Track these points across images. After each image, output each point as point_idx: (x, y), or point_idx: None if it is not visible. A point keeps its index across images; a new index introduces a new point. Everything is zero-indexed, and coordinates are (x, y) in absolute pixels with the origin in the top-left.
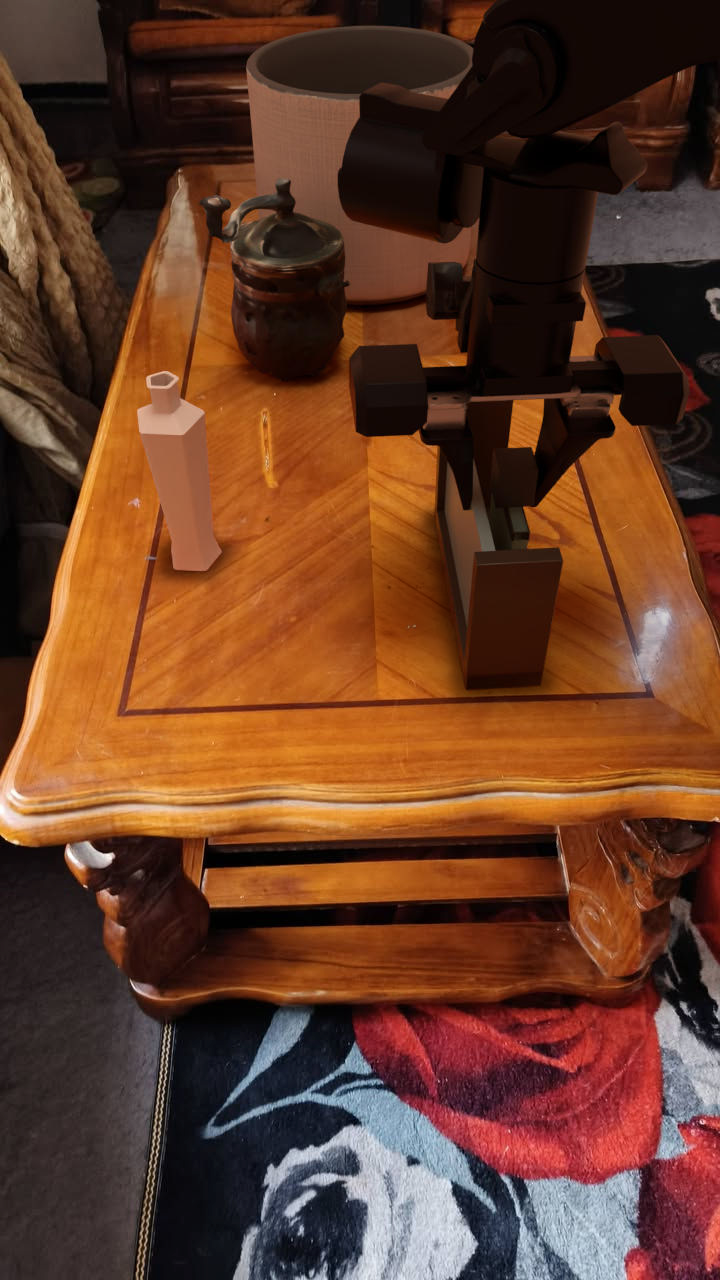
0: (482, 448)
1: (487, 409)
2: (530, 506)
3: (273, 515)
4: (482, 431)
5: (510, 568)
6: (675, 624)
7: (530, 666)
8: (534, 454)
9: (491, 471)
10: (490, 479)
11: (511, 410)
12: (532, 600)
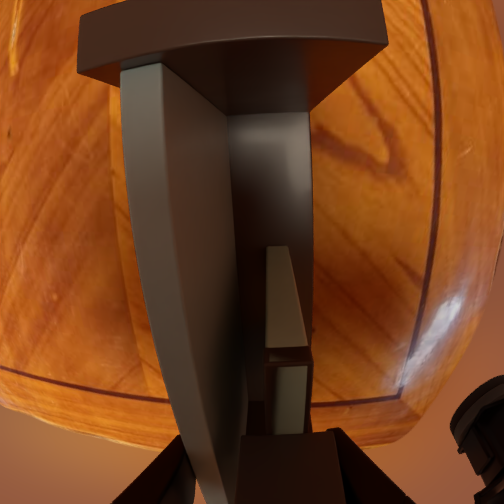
0: (266, 88)
1: (273, 52)
2: None
3: (13, 124)
4: (261, 77)
5: None
6: (459, 318)
7: None
8: (355, 499)
9: (237, 470)
10: (239, 450)
11: (368, 58)
12: None
